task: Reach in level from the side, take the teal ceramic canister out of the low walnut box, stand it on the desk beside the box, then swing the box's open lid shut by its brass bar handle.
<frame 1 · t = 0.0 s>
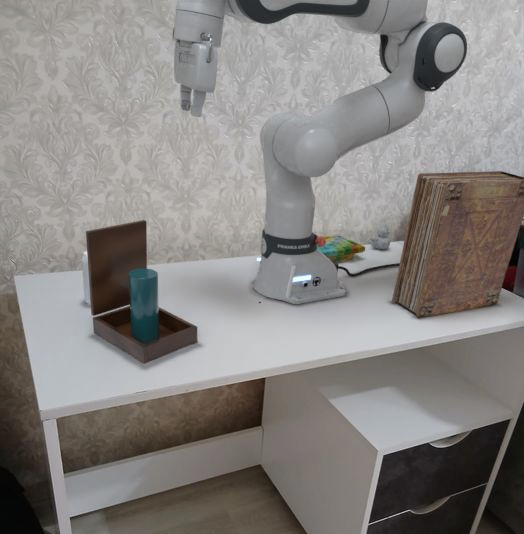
hand: (190, 113, 108), 39 cm above the table, tool pointing down, fingers open, 8 cm apart
canister: (145, 337, 106), point 1 cm above the table, touching chest
chest: (145, 340, 107), on the table
lid: (112, 264, 106), point 13 cm above the table, hinge at 88.0°
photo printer: (108, 301, 122), on the table
grey figurine: (378, 249, 168), on the table
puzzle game: (323, 258, 157), on the table
book: (444, 304, 134), on the table
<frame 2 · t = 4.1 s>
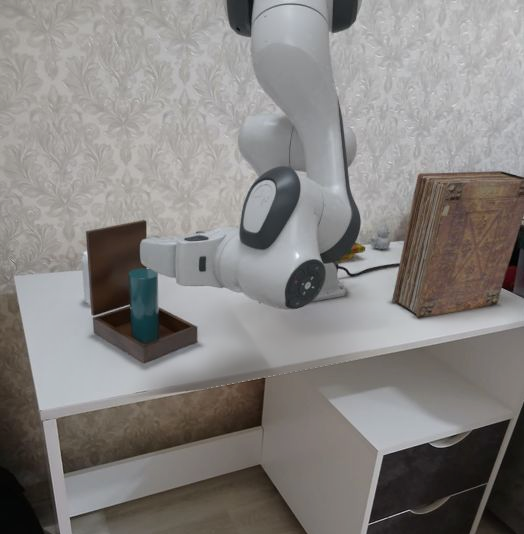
hand: (176, 238, 91), 23 cm above the table, tool horizontal, fingers open, 8 cm apart
nothing on the table moved.
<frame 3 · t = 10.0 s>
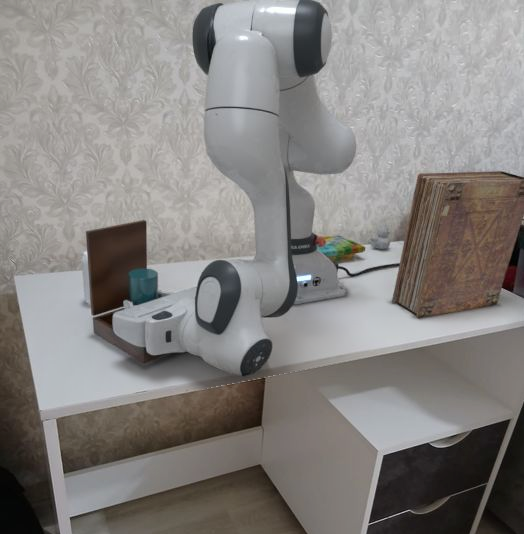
hand: (141, 298, 103), 9 cm above the table, tool horizontal, fingers closed on canister, 5 cm apart
canister: (145, 337, 106), point 1 cm above the table, touching chest, gripper
everything else where it was.
when the fingers open (8 cm above the table, at t = 17.2 s): canister stays where it is, on the table.
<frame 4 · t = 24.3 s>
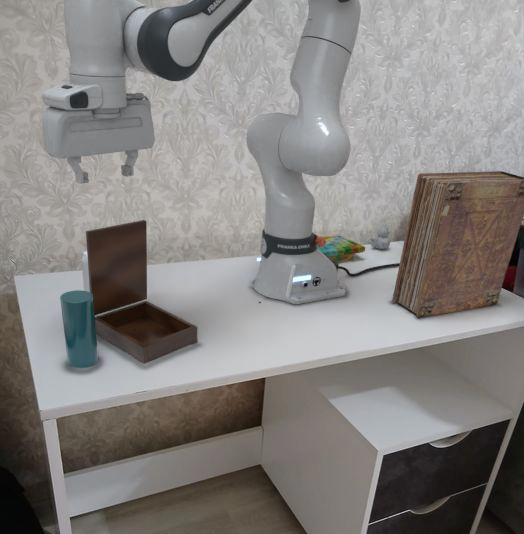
hand: (105, 179, 98), 29 cm above the table, tool pointing down, fingers open, 8 cm apart
canister: (83, 364, 98), on the table
everything else where it was.
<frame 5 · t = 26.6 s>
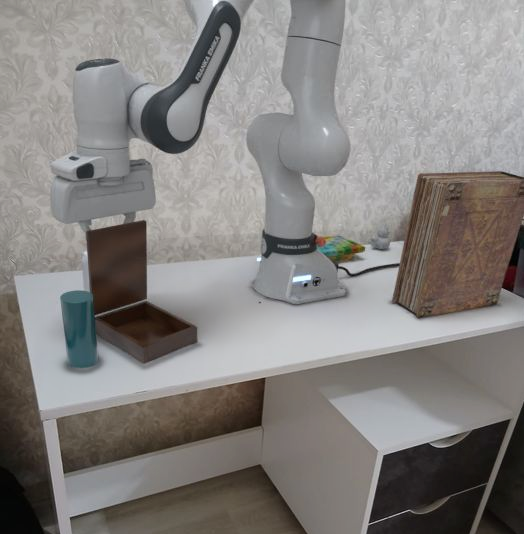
hand: (108, 238, 104), 18 cm above the table, tool pointing down, fingers closed on lid, 6 cm apart
lid: (112, 264, 106), point 13 cm above the table, hinge at 88.0°, touching gripper
everything else where it was.
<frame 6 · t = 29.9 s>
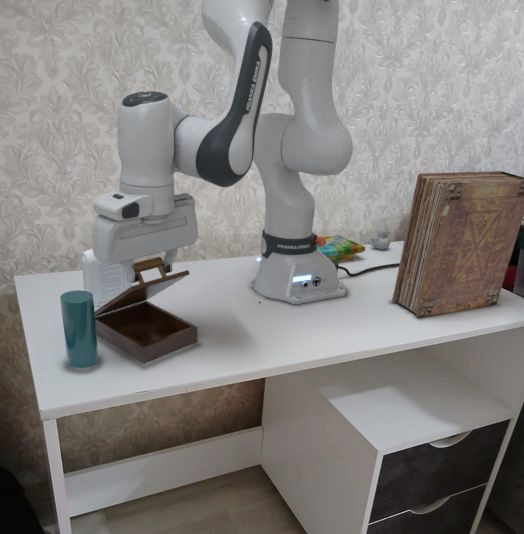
hand: (149, 276, 99), 14 cm above the table, tool pointing down, fingers closed on lid, 6 cm apart
lid: (135, 283, 103), point 11 cm above the table, hinge at 36.8°, touching gripper
everything else where it was.
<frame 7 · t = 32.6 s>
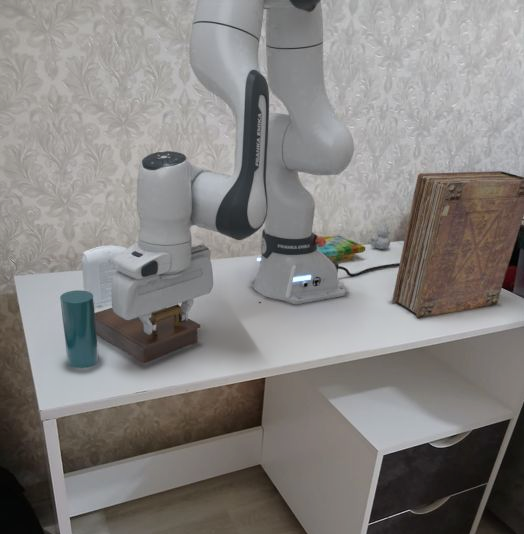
hand: (166, 326, 100), 6 cm above the table, tool pointing down, fingers closed on lid, 6 cm apart
lid: (145, 310, 103), point 7 cm above the table, hinge at -0.2°, touching chest, gripper
everything else where it was.
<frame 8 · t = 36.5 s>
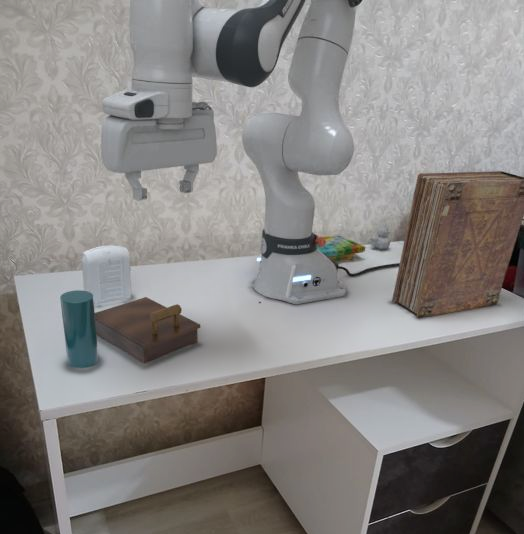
hand: (163, 195, 89), 29 cm above the table, tool pointing down, fingers open, 8 cm apart
lid: (145, 310, 103), point 7 cm above the table, hinge at -0.2°
everything else where it was.
at the end: canister inside the target area (0.1 cm from its centre), on the table; canister tilted 0°; lid at +0° (first picture: +88°) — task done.
